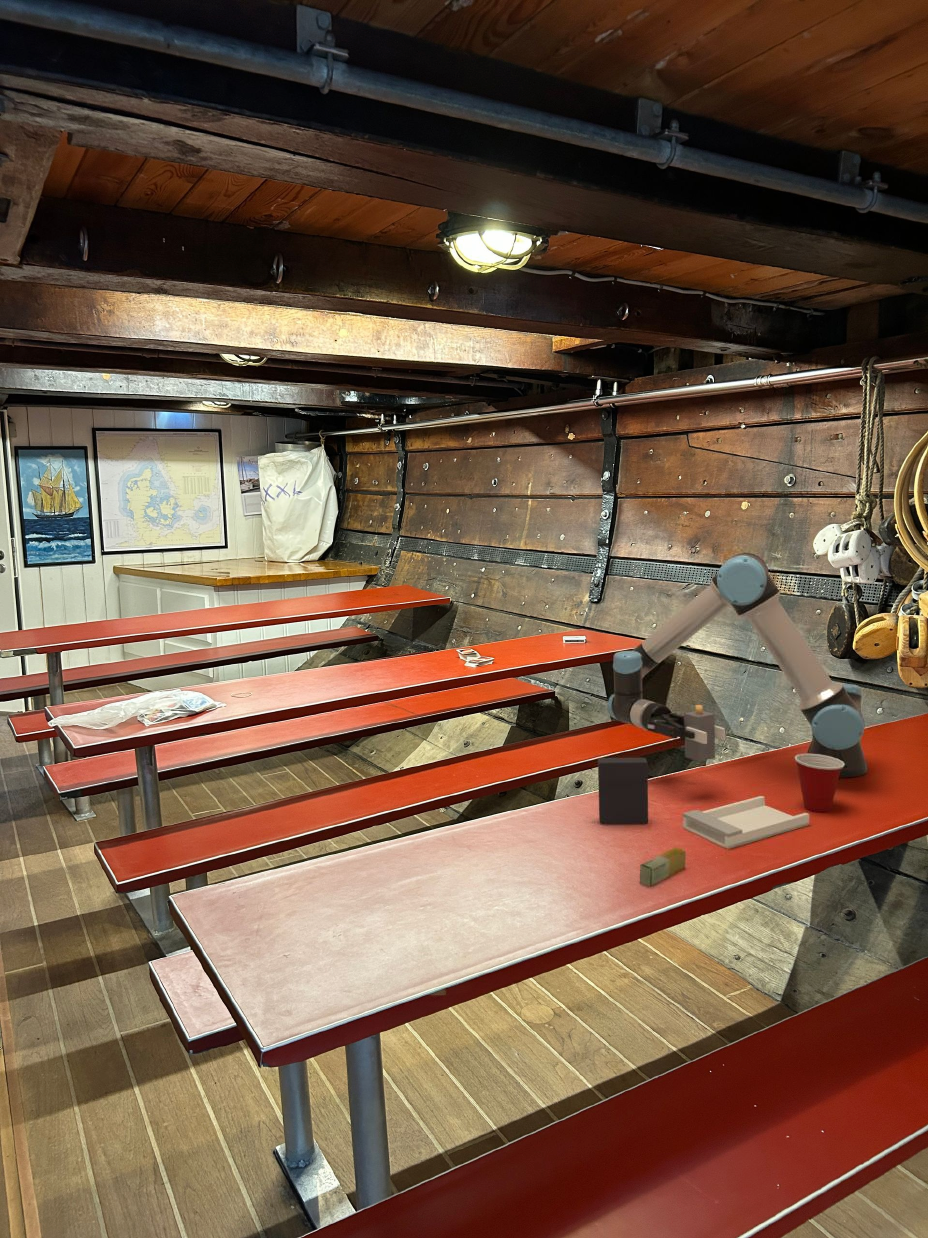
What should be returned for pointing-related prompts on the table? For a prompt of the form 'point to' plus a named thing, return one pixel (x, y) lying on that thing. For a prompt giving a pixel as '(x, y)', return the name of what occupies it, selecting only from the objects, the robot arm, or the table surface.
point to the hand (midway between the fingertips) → (714, 736)
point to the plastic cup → (818, 780)
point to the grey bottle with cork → (702, 723)
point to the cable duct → (742, 822)
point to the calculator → (623, 790)
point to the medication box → (662, 866)
